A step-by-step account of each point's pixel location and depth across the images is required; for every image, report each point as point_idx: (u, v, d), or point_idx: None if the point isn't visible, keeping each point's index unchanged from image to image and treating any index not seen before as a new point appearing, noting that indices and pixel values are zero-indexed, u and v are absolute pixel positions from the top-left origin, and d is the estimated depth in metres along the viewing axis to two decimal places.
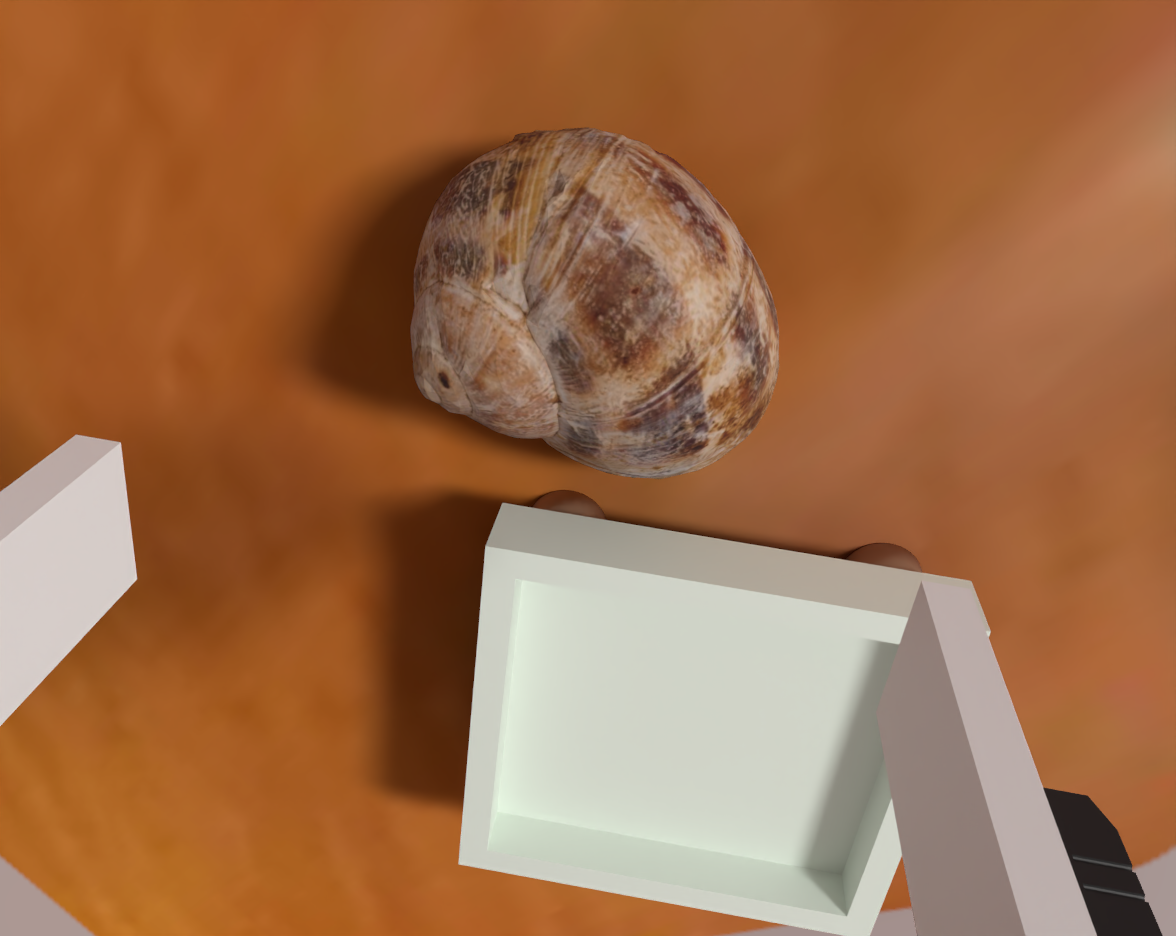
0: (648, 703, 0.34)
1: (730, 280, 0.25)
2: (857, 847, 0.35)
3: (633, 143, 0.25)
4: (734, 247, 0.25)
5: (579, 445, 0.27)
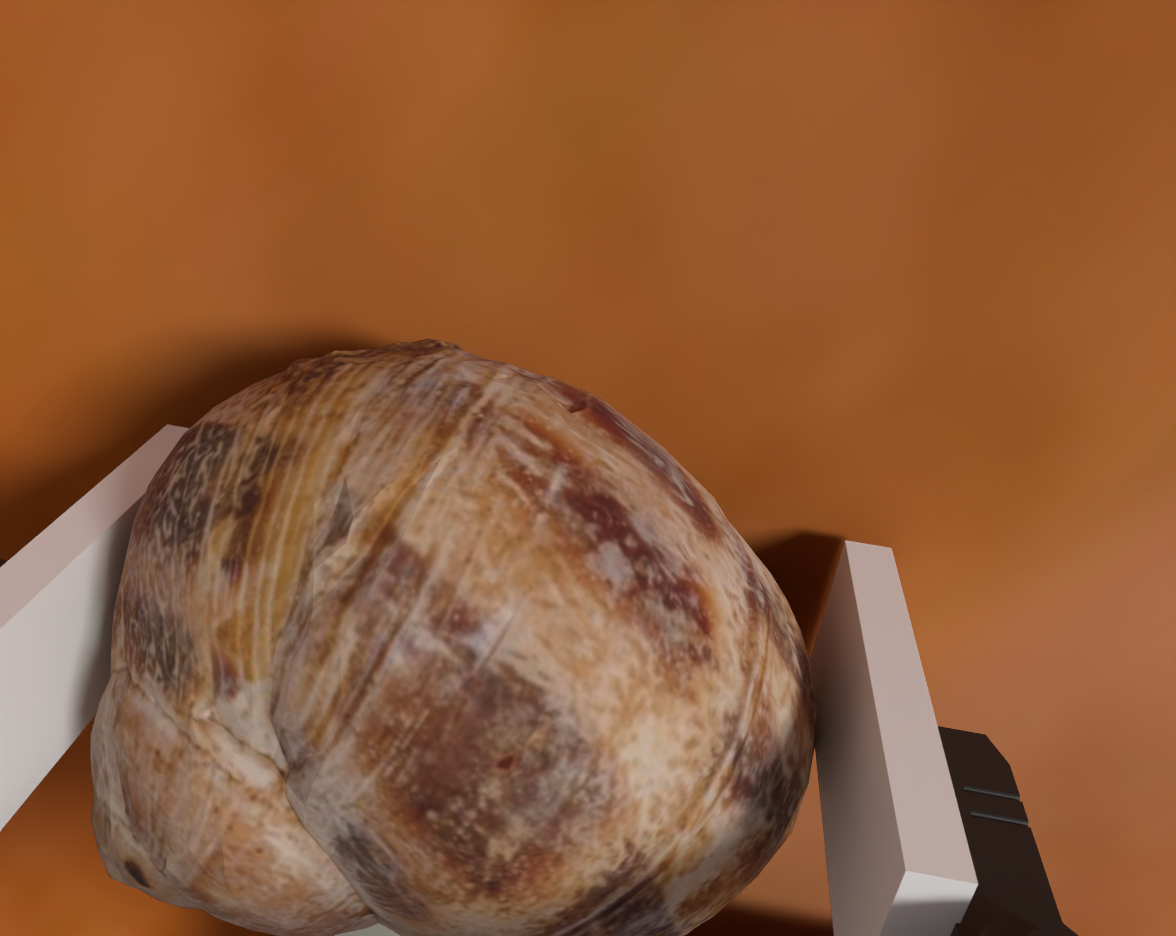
0: None
1: (719, 693, 0.12)
2: None
3: (516, 399, 0.12)
4: (729, 611, 0.12)
5: None
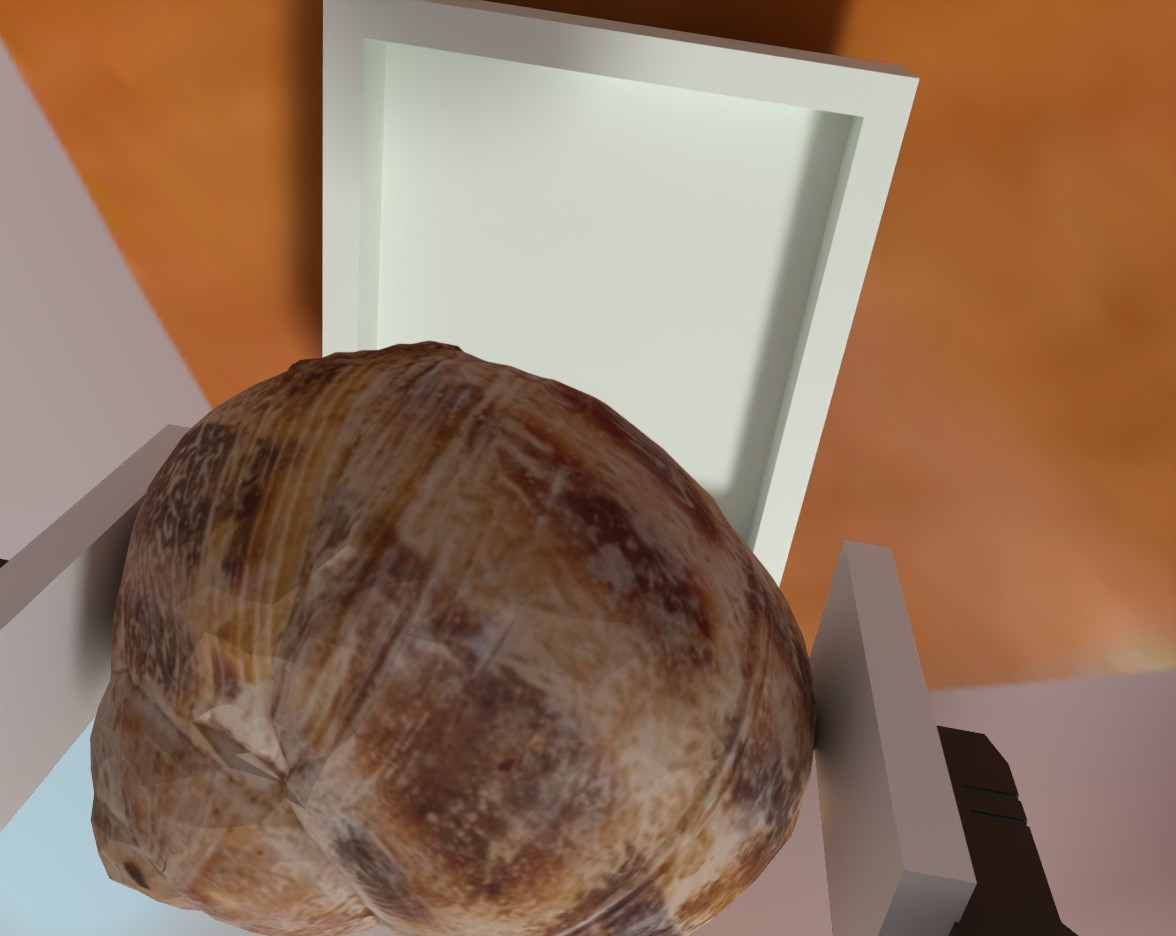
0: (610, 255, 0.27)
1: (720, 695, 0.12)
2: None
3: (517, 402, 0.12)
4: (730, 614, 0.12)
5: None
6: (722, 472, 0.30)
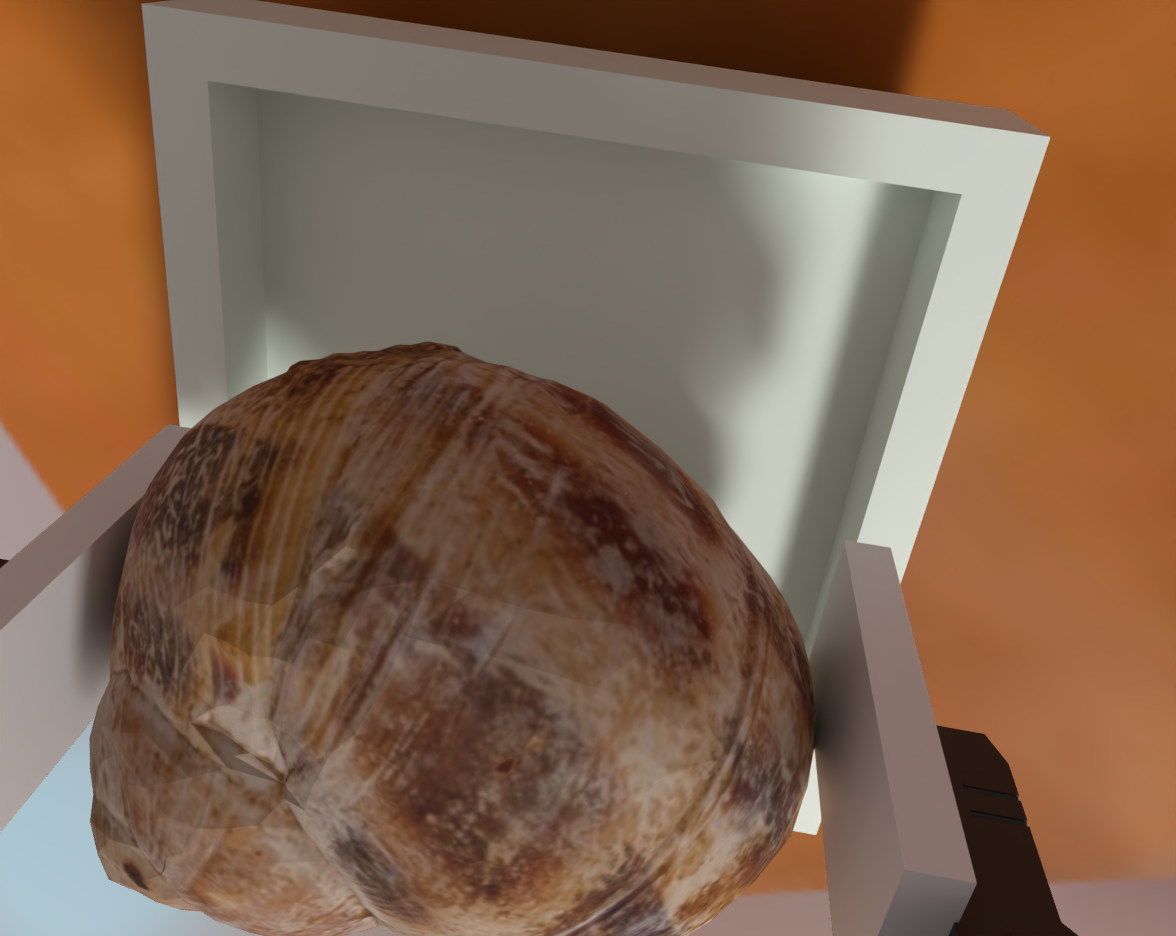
0: (586, 375, 0.19)
1: (719, 697, 0.12)
2: None
3: (516, 403, 0.12)
4: (729, 615, 0.12)
5: None
6: None
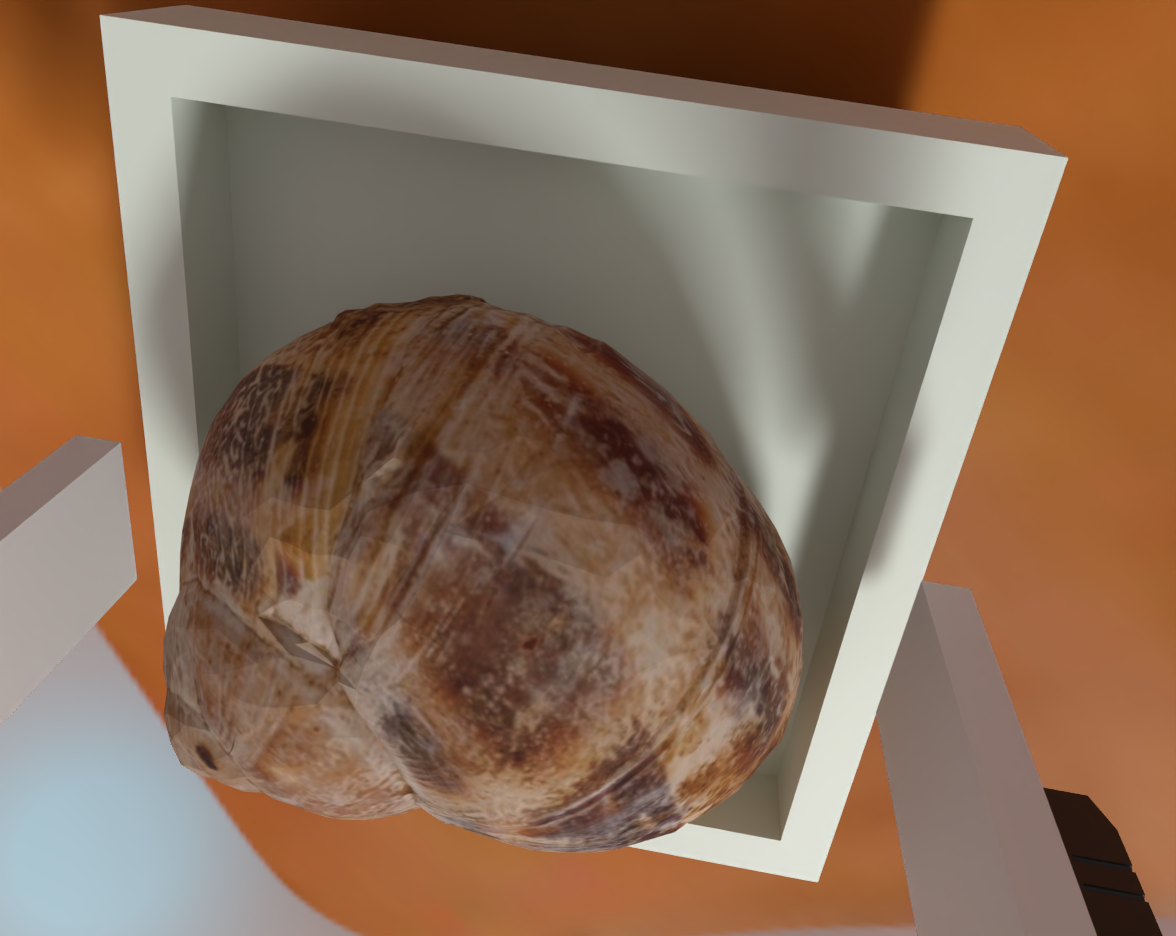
0: None
1: (714, 593, 0.13)
2: None
3: (537, 340, 0.14)
4: (723, 525, 0.14)
5: None
6: None
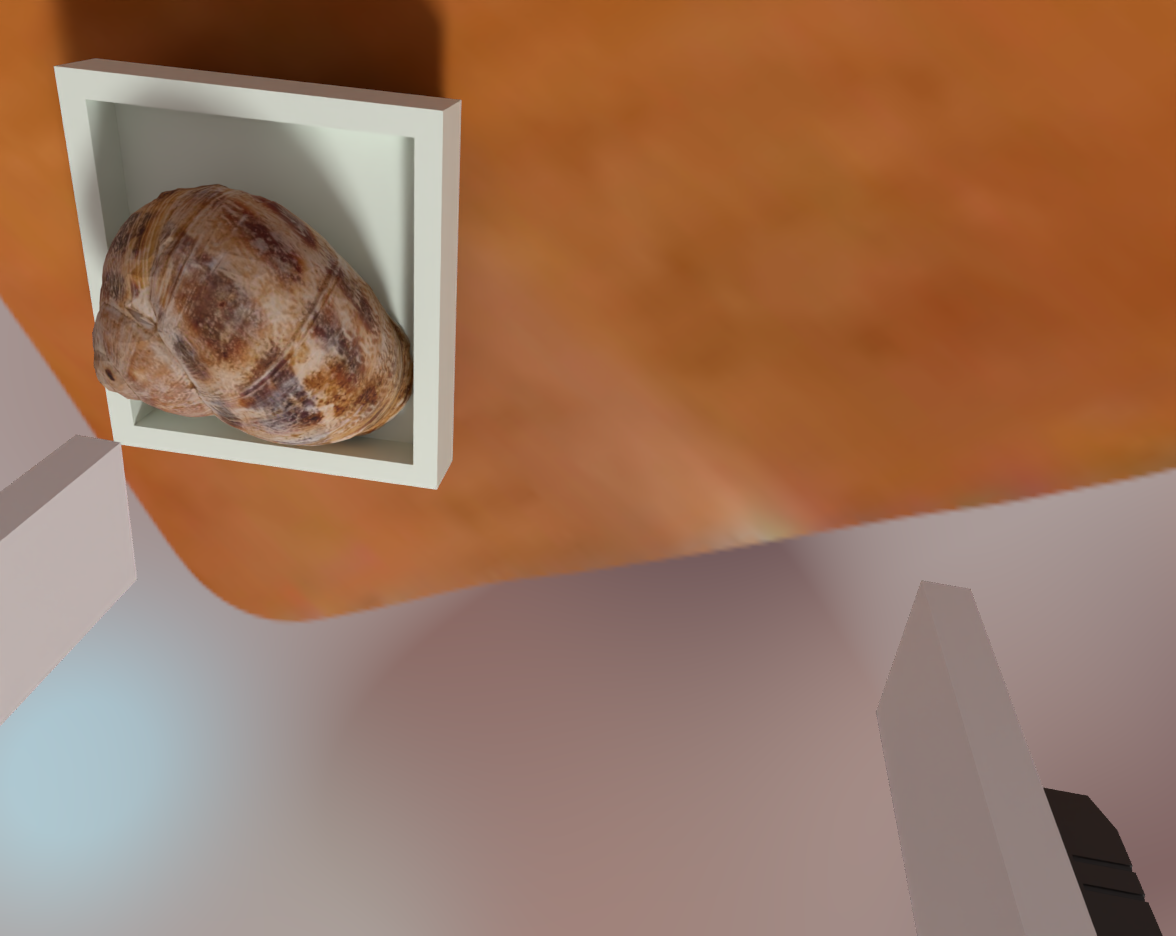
0: None
1: (305, 293, 0.34)
2: (195, 419, 0.42)
3: (234, 196, 0.34)
4: (312, 269, 0.34)
5: (228, 420, 0.36)
6: None
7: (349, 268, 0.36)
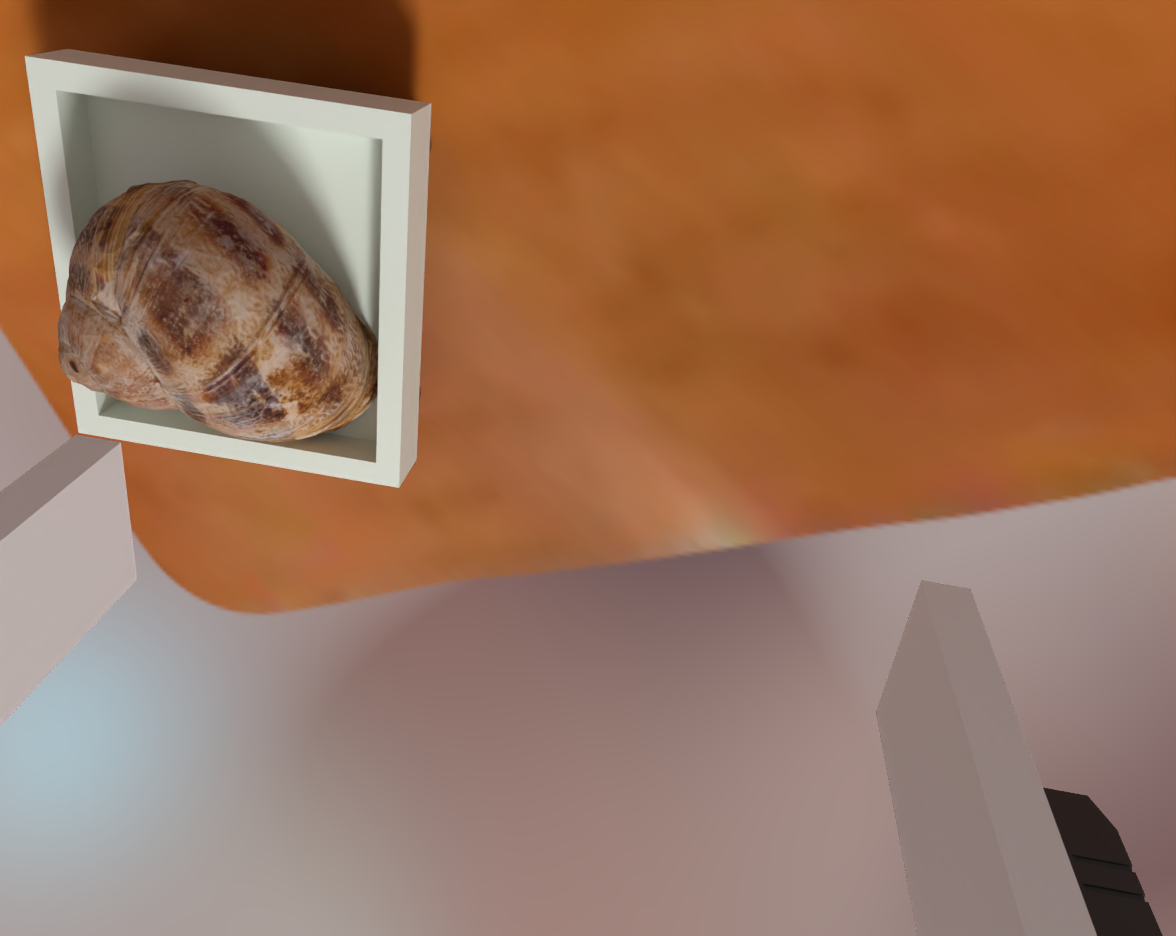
0: None
1: (270, 291, 0.34)
2: None
3: (202, 192, 0.34)
4: (278, 267, 0.34)
5: (192, 414, 0.37)
6: None
7: (316, 267, 0.37)
